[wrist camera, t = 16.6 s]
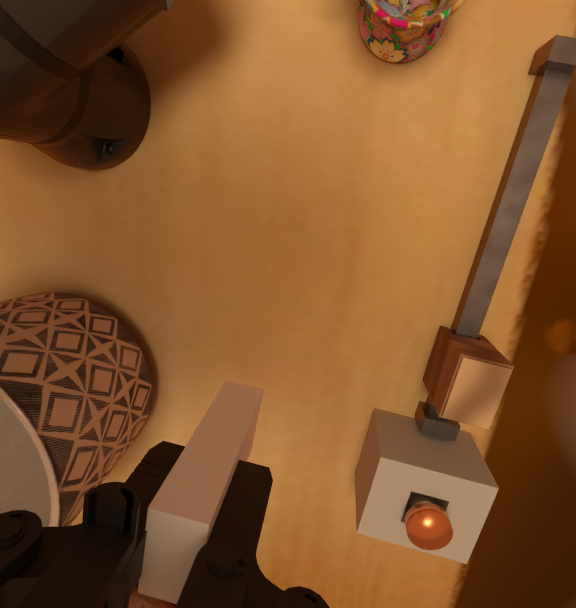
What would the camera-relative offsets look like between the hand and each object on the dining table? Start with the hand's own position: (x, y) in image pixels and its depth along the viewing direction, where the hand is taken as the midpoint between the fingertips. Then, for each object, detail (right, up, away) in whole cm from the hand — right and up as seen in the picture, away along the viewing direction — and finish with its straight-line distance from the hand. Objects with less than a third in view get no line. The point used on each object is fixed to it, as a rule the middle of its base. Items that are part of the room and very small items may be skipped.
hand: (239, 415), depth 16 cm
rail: (+24, +9, +29) cm, 38 cm away
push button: (+17, -17, +30) cm, 38 cm away
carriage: (+21, -2, +32) cm, 39 cm away
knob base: (+18, -15, +36) cm, 43 cm away
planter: (-27, -5, +40) cm, 49 cm away
